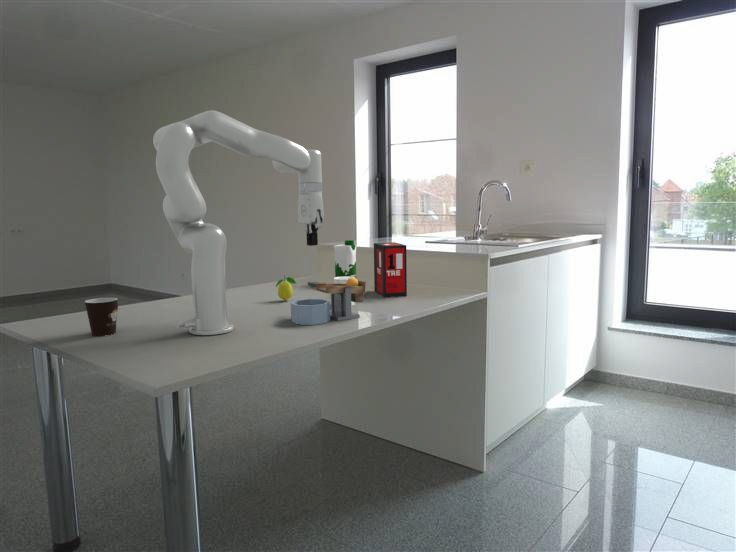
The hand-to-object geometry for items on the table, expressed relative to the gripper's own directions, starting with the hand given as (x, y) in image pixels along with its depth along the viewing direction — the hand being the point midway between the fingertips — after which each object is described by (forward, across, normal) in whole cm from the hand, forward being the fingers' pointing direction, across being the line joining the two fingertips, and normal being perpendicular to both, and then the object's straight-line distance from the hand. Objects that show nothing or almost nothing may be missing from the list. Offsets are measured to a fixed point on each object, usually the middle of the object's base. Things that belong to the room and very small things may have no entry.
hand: (312, 245), depth 184 cm
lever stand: (+23, +9, +5) cm, 25 cm away
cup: (+23, +8, -6) cm, 25 cm away
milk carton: (+23, -49, +42) cm, 69 cm away
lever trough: (+18, +6, +5) cm, 19 cm away
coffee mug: (+23, -14, -61) cm, 67 cm away
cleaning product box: (+23, -18, +44) cm, 53 cm away
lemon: (+23, -29, +3) cm, 38 cm away
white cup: (+23, -8, +17) cm, 30 cm away
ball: (+13, +9, +10) cm, 18 cm away
